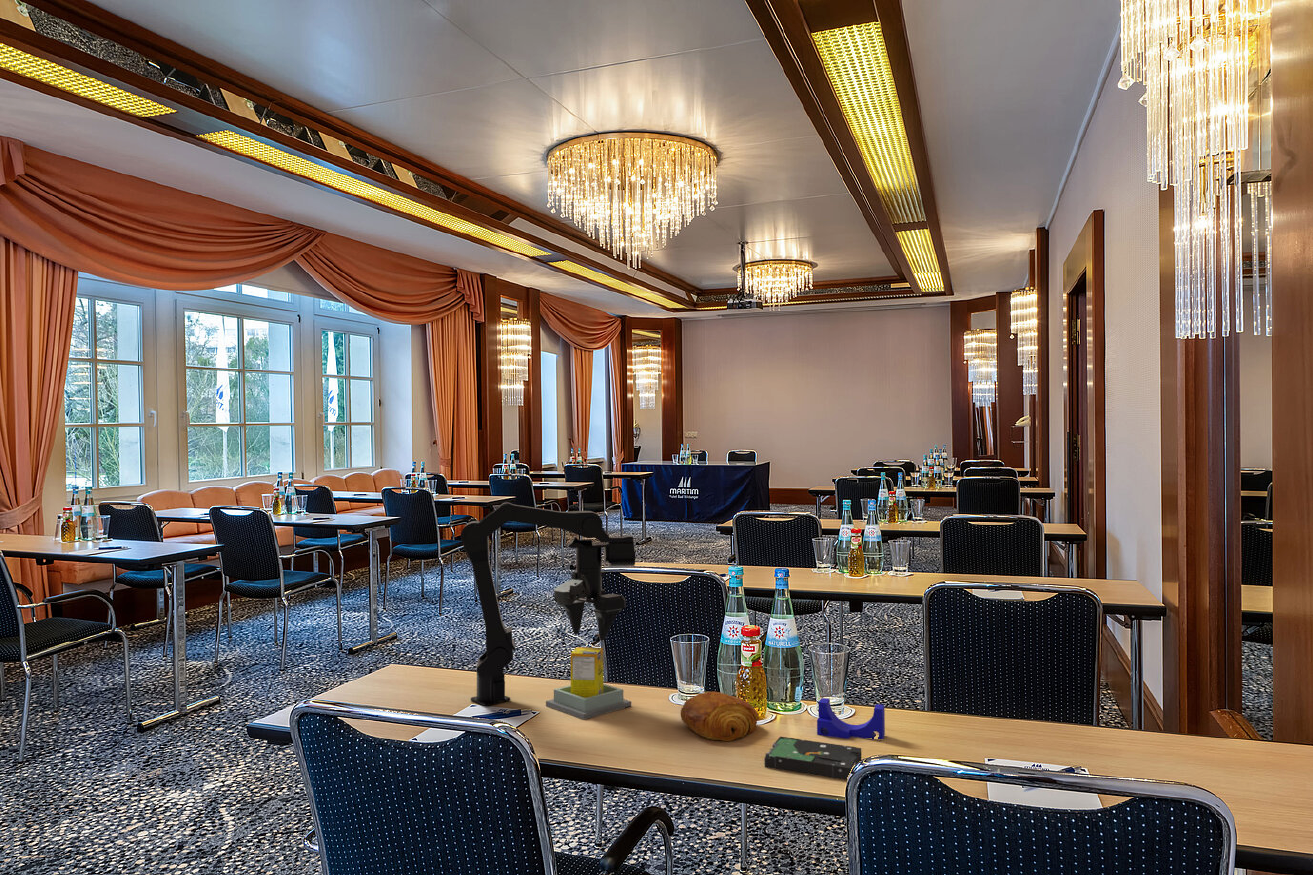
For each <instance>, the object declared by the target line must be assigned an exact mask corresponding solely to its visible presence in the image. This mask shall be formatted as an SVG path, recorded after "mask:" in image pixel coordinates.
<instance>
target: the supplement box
mask: <svg viewBox="0 0 1313 875" xmlns="http://www.w3.org/2000/svg"><path fill="white" fill-rule="evenodd" d="M603 684H604V647H588V646H587V647H583V646H577V647H575V648H574V649H573V650H572V651H571V653H570V685H571V694H574V695H577V696H580V697H583V698H588V697H592V696H596V695H599V694H603Z"/></svg>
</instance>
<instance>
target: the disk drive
mask: <svg viewBox="0 0 1313 875" xmlns="http://www.w3.org/2000/svg"><path fill="white" fill-rule="evenodd" d="M771 746H772V747H770V749H769V750H768V751H767V752H765V756H764V758H763V759H764V760H763V761H764V768H768V769H774V770H778V771H787V772H791V773H800V774H806V775H811V776H816V777H817V776H819V777H824V778H830V779H832V778H833V779H837V780H843V781H848V780H847V777H848V775H849V773H850V771H851V769H852V767H853V766H854V765H856V764H857V763H858V762H859V761H861V762H862V748H861V747H856V746H851V745H843V744H835V743H829V742H820V741H813V740H807V739H801V738H795V737H794V738H793V737H786V736H779V737H778V738H777V739H776V741H775V742H774V743H773V744H772V745H771Z"/></svg>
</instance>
